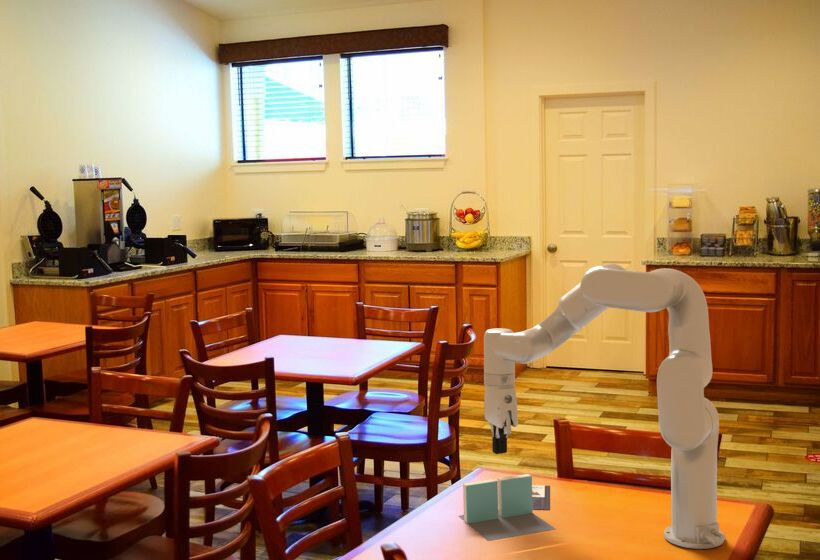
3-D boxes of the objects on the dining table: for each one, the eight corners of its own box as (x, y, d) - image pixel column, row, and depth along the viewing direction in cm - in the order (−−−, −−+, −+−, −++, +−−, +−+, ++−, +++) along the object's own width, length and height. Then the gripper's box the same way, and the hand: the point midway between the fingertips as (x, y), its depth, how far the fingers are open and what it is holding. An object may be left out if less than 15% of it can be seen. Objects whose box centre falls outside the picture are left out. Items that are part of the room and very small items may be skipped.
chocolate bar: (512, 508, 215) (515, 484, 232) (512, 512, 215) (515, 488, 232) (549, 509, 213) (549, 485, 231) (550, 513, 213) (549, 489, 231)
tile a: (532, 512, 212) (531, 476, 211) (502, 517, 209) (501, 480, 208) (528, 510, 214) (527, 473, 213) (498, 515, 211) (497, 478, 210)
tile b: (498, 518, 209) (497, 481, 208) (467, 523, 206) (466, 485, 205) (494, 515, 211) (493, 478, 210) (464, 520, 208) (462, 483, 207)
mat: (556, 530, 201) (556, 528, 201) (488, 542, 195) (488, 540, 195) (522, 507, 217) (522, 505, 217) (458, 517, 211) (458, 515, 211)
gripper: (527, 384, 209) (527, 459, 211) (500, 372, 223) (500, 443, 225) (498, 386, 207) (498, 463, 209) (473, 374, 221) (473, 446, 223)
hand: (499, 452), depth 217 cm, fingers closed
